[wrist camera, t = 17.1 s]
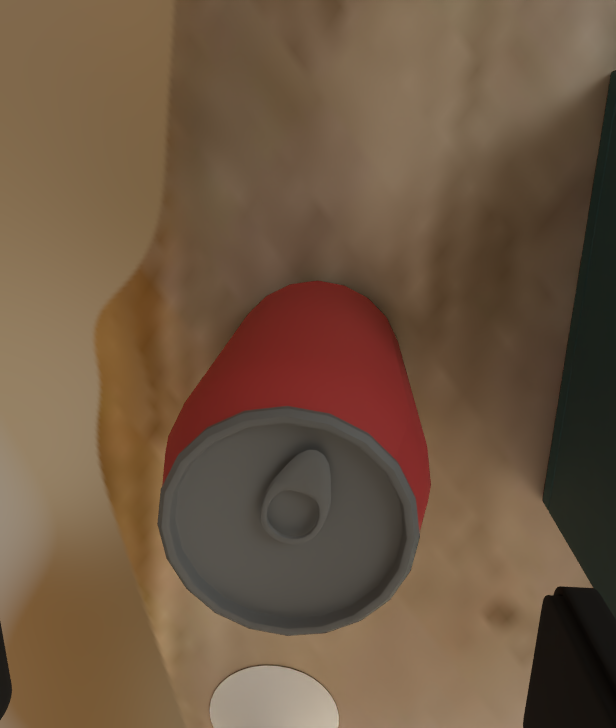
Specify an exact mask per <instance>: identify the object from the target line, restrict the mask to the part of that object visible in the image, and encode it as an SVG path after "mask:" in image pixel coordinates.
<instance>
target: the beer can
mask: <svg viewBox="0 0 616 728" xmlns="http://www.w3.org/2000/svg"><path fill="white" fill-rule="evenodd" d="M430 486H431V482H430V471H429V460H428V450H427V444H426V441H425V437H424V433H423V430H422V426H421V423H420V419H419V416H418V412H417V408H416V405H415V401H414V398H413V394H412V391H411V387H410V384H409V380H408V376H407V373H406V369H405V366H404V362H403V359H402V355H401V351H400V348H399V344H398V341H397V339H396V337H395V334H394V332H393V330H392V328H391V326H390V324H389V322H388V319H387V317H386V316H385V315H384V314H383V313H382V312H381V311H380V310H379V309H378V308H377V307H376V306H375V305H374V304H373V303H372V302H371V301H370V300H369V299H368V298H367V297H365V296H363V295H361V294H359V293H357V292H355V291H354V290H352V289H350V288H348V287H346V286H344V285H338V284H333V283H327V282H322V281H312V282H304V283H297V284H290V285H288V286H286V287H284V288H282V289H280V290H278V291H276V292H274V293H272V294H270V295H268V296H266V297H265V298H264V299H263V300H262V301H261V302H260V303H259V304H258V305H257V306H256V307H255V308H254V309H253V310H252V311H251V312H250V313H249V314H248V315H247V316H246V318H245V319H244V321H243V322H242V323H241V325H240V326H239V328H238V329H237V330H236V332H235V333H234V335H233V336H232V337H231V339H230V340H229V342H228V343H227V344H226V346H225V347H224V349H223V350H222V351H221V353H220V354H219V356H218V357H217V358H216V360H215V361H214V363H213V364H212V365H211V367H210V368H209V370H208V371H207V372H206V374H205V375H204V377H203V378H202V379H201V381H200V382H199V384H198V385H197V386H196V388H195V389H194V391H193V392H192V393H191V395H190V396H189V398H188V399H187V400H186V402H185V404H184V406H183V408H182V410H181V412H180V414H179V416H178V418H177V420H176V422H175V424H174V426H173V428H172V430H171V432H170V434H169V436H168V442H167V447H166V453H165V463H164V474H163V484H162V488H161V494H160V504H159V515H158V527H159V531H160V535H161V539H162V543H163V547H164V550H165V554H166V558H167V560H168V561H169V563H170V564H171V566H172V567H173V569H174V570H175V572H176V573H177V575H178V576H179V578H180V579H181V581H182V583H183V584H184V586H185V587H186V589H188V590H189V591H190V592H191V593H192V594H193V595H195V596H196V597H197V598H198V599H199V600H201V601H202V602H203V603H204V604H205V605H206V606H208V607H209V608H210V609H211V610H212V611H214V612H215V613H217V614H219V615H221V616H223V617H225V618H228V619H230V620H232V621H234V622H236V623H238V624H240V625H243V626H245V627H247V628H249V629H254V630H259V631H264V632H270V633H275V634H280V635H286V636H291V635H306V634H320V633H327V632H330V631H333V630H336V629H339V628H342V627H344V626H347V625H350V624H353V623H356V622H359V621H361V620H363V619H364V618H365V617H367V616H368V615H369V614H371V613H372V612H374V611H375V610H376V609H378V608H379V607H381V606H382V605H383V604H385V603H386V602H387V601H389V600H390V599H391V598H392V596H393V595H394V593H395V592H396V591H397V589H398V588H399V586H400V585H401V584H402V582H403V581H404V579H405V578H406V577H407V575H408V574H409V572H410V571H411V567H412V564H413V560H414V556H415V553H416V549H417V545H418V542H419V538H420V533H419V532H420V528H421V525H422V521H423V517H424V514H425V510H426V506H427V503H428V498H429V492H430Z"/></svg>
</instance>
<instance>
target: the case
mask: <svg viewBox="0 0 616 728" xmlns="http://www.w3.org/2000/svg"><path fill="white" fill-rule="evenodd" d="M543 502H544V504H545V506H546V507H547V509H548V510H549V513H550V514H551V516H552V518H553V520H554V521H555V523H556V525H557V526H558V528H559V530H560V532H561V533H562V535H563V537H564V538H565V540H566V542H567V543H568V545H569V547H570V549H571V550H572V552H573V554H574V555H575V557H576V559H577V561H578V562H579V564H580V566H581V567H582V569H583V571H584V572H585V574H586V576H587V578H588V579H589V581H590V583H591V584H592V586H593V588H594V589H596V590H597V591H598V592H599V593H600V595H601V596H602V598H603V599H604V601H605V603H606V604H607V606H608V608H609V609H610V611H611V612H612V614H613V616H614V617H615V619H616V70H615V71H613V72H612V73H611V78H610V84H609V90H608V97H607V103H606V109H605V115H604V122H603V128H602V134H601V140H600V146H599V153H598V159H597V165H596V171H595V178H594V184H593V190H592V196H591V202H590V209H589V215H588V221H587V227H586V234H585V240H584V246H583V252H582V258H581V265H580V271H579V277H578V283H577V289H576V296H575V302H574V308H573V314H572V321H571V327H570V333H569V339H568V345H567V352H566V358H565V364H564V370H563V377H562V383H561V389H560V395H559V401H558V408H557V414H556V420H555V426H554V433H553V439H552V445H551V451H550V457H549V464H548V470H547V476H546V482H545V489H544V495H543Z"/></svg>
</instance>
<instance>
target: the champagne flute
mask: <svg viewBox="0 0 616 728" xmlns="http://www.w3.org/2000/svg"><path fill="white" fill-rule="evenodd" d="M209 710H210V719H211V722H212V725H213V728H338V725H339V714H338V710H337V707H336V704H335V702H334V700H333V698H332V696H331V695H330V694H329V693H328V691H327V690H326V689H325V688H324V687H323V686H322V685H321V684H320V683H318V682H317V681H316V680H315V679H313V678H311V677H309V676H308V675H306V674H304V673H302V672H299V671H296V670H293V669H291V668H286V667H280V666H256V667H250V668H247V669H244V670H240V671H238V672H236V673H234V674H232V675H230V676H229V677H228V678H226V679H225V680H224V681H223V682H222V683H221V684H220V685H219V686H218V688H217V689H216V690H215V692H214V694H213V696H212V699H211V703H210V709H209Z"/></svg>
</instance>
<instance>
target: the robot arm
mask: <svg viewBox="0 0 616 728" xmlns="http://www.w3.org/2000/svg"><path fill="white" fill-rule="evenodd" d="M11 693H12V685H11V679H10V674H9V668H8V663H7V657H6V651H5V646H4V640H3V634H2V629H1V623H0V720H1V718H2V717H3V715H4V713H5V712H6V710H7V708H8V705H9V702H10V699H11ZM523 728H616V619H615V617H614V616H613V614H612V612H611V611H610V609H609V608H608V606H607V604H606V603H605V601H604V599H603V598H602V596H601V595H600V593H599V592H598V591H597V590H596V589H594V588H578V587H557V588H556V590H555V592H554V596H551V595H547V596H545V597H544V600H543V604H542V610H541V616H540V622H539V628H538V634H537V640H536V647H535V653H534V659H533V665H532V671H531V677H530V683H529V689H528V695H527V701H526V707H525V713H524V720H523Z"/></svg>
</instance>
